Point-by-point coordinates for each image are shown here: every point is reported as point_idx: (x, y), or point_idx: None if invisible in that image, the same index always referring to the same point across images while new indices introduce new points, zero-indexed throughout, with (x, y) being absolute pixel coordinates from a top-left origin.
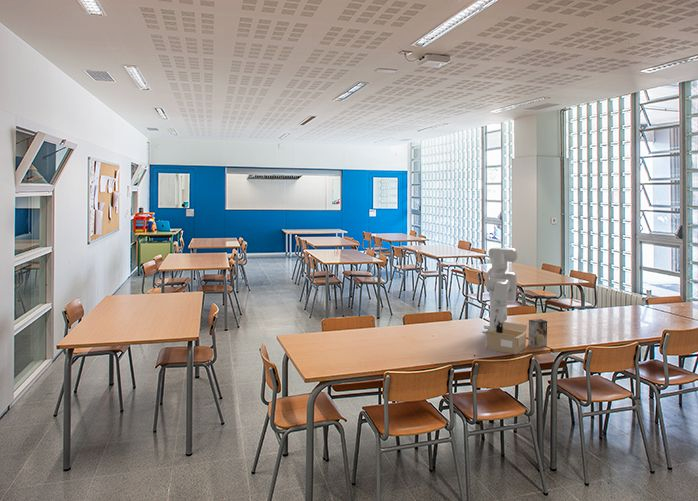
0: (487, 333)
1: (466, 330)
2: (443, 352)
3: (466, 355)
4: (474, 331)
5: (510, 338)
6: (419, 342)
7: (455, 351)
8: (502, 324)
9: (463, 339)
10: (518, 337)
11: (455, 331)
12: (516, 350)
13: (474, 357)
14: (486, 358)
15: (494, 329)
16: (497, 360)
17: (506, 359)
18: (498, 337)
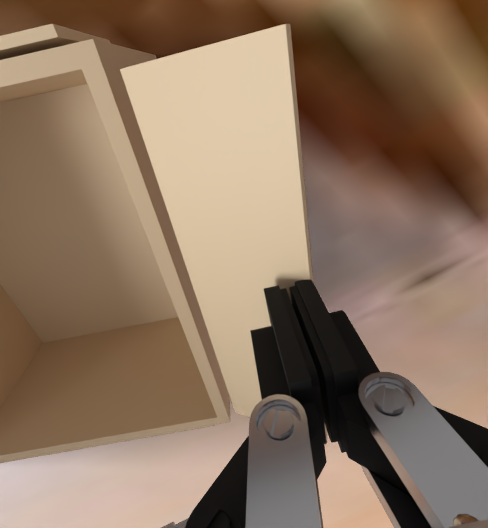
0: (229, 414)
1: (34, 515)
2: (467, 391)
3: (459, 303)
4: (3, 498)
5: (148, 165)
6: (375, 497)
7: (414, 373)
8: (295, 442)
9: (178, 456)
10: (4, 62)
11: (101, 522)
12: (145, 53)
13: (478, 250)
14: (458, 181)
15: (54, 448)
16: (469, 79)
17: (389, 28)
18: (199, 308)
